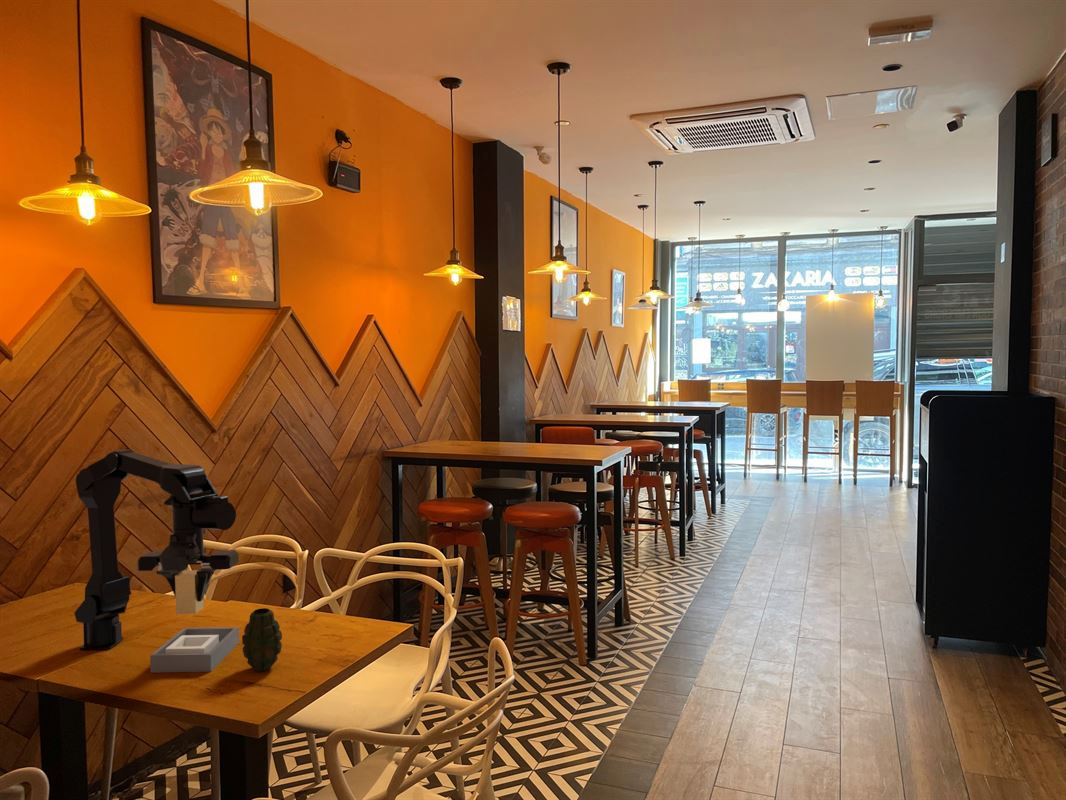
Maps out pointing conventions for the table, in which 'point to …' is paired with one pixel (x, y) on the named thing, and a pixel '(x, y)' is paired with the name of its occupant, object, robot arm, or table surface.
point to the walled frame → (195, 650)
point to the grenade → (262, 640)
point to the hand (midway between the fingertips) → (190, 601)
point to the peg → (187, 593)
